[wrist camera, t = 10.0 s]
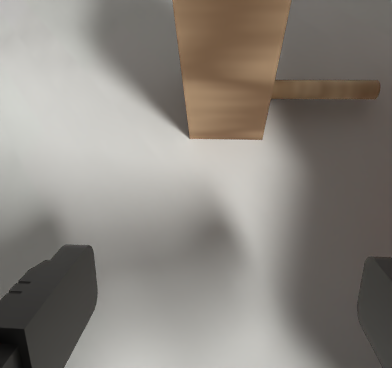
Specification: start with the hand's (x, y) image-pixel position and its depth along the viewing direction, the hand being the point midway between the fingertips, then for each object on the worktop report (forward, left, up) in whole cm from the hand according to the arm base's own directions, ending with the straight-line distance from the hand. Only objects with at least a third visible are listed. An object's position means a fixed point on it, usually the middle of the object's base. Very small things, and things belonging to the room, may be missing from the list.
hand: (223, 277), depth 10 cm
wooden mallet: (-3, -11, -6) cm, 13 cm away
